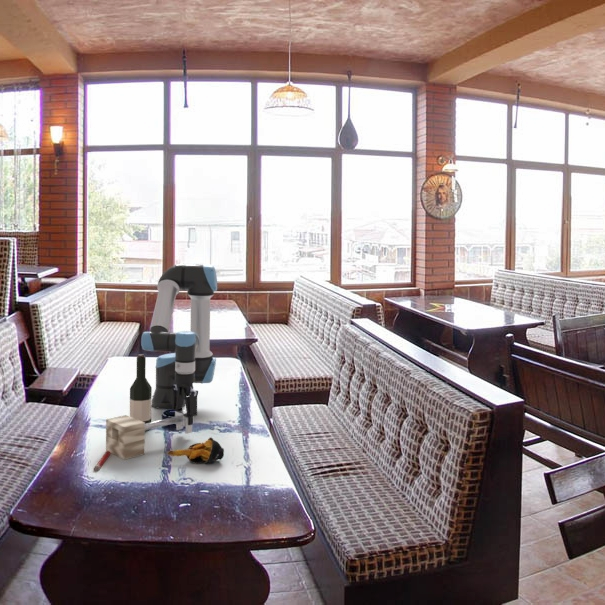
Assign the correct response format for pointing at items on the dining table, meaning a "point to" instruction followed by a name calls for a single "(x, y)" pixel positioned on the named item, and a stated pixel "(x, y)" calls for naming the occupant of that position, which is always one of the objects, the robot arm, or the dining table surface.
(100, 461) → the flare
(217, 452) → the fried shrimp in bowl
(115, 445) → the eye block
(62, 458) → the dining table surface
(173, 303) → the robot arm
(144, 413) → the wine bottle
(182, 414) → the pull pin
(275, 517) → the dining table surface
